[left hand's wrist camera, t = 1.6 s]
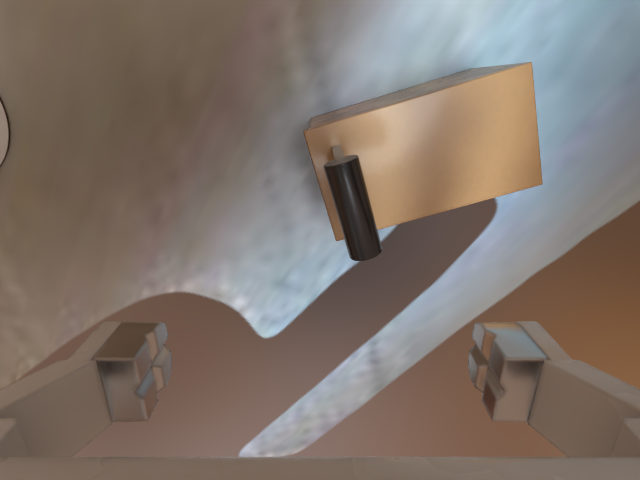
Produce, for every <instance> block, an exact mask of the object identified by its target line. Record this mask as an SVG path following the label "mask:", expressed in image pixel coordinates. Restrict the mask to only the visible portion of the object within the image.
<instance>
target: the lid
mask: <svg viewBox="0 0 640 480" xmlns="http://www.w3.org/2000/svg"><path fill="white" fill-rule="evenodd" d="M304 136H305V139H306V142H307V146H308V149H309V152H310V156H311V159H312V162H313V166H314V169H315V172H316V176H317V179H318V182H319V186H320V189H321V192H322V196H323V199H324V202H325V206H326V209H327V212H328V216H329V219H330V222H331V226H332V229H333V232H334V236H335V239H336V241H339V240H342V239H345V242H346V246H347V249H348V253H349V256H350V258H351V259H352V260H355V261H363V260H368V259H371V258H374V257H376V256H377V255H379V254H380V253H381V251H382V246H381V242H380V239H379V235H378V231H377V230H378V229H382V228H386V227H389V226H393V225H397V224H400V223H404V222H407V221H411V220H415V219H418V218H422V217H426V216H429V215H433V214H437V213H440V212H444V211H447V210H451V209H455V208H458V207H462V206H466V205H469V204H473V203H476V202H480V201H484V200H487V199H491V198H495V197H498V196H502V195H505V194H509V193H513V192H516V191H520V190H524V189H527V188H531V187H534V186H538V185H542V174H541V162H540V151H539V139H538V128H537V116H536V105H535V93H534V82H533V70H532V62H527V63H521V64H518V65H515V66H512V67H508V68H505V69H502V70H498V71H495V72H492V73H489V74H485V75H482V76H479V77H476V78H472V79H469V80H466V81H463V82H459V83H456V84H453V85H449V86H446V87H443V88H440V89H436V90H433V91H430V92H427V93H423V94H420V95H417V96H413V97H410V98H407V99H404V100H400V101H397V102H394V103H391V104H387V105H384V106H381V107H377V108H374V109H371V110H368V111H364V112H361V113H358V114H355V115H351V116H348V117H345V118H341V119H338V120H335V121H332V122H328V123H325V124H322V125H319V126H315V127H312V128H309V129H306V130H304Z"/></svg>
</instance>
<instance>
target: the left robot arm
mask: <svg viewBox="0 0 640 480" xmlns="http://www.w3.org/2000/svg"><path fill="white" fill-rule="evenodd" d="M8 141H9V131H8V123H7V118H6V114H5V111H4V108H3V106H2V103H1V101H0V165H1V163H2V161H3V160H4V157H5V155H6V152H7V148H8ZM167 338H168V334H167V329H166V325H165V324H164V323H162V322H104V323H101V324H100V325H99V327H98V328H97V329H96V330H95V331H94V332H93V333H92V334H91V335H90V336H89V337H88V338H87V340H86V341H85V342H84V343H83V344H82V345H81V346H80V347H79V348H78V349H77V350H76V351H75V352H74V354H73V355H72V356H71V357H70V358H69V359H68V360H60V361H58V362H56V363H54V364H52V365H50V366H48V367H46V368H44V369H42V370H39V371H37V372H35V373H33V374H31V375H29V376H27V377H25V378H23V379H21V380H19V381H16V382H14V383H12V384H10V385H8V386H6V387H4V388H2V389H0V480H640V389H638V388H636V387H634V386H632V385H630V384H628V383H625V382H623V381H621V380H619V379H617V378H615V377H613V376H611V375H609V374H607V373H605V372H603V371H600V370H598V369H596V368H594V367H592V366H590V365H588V364H586V363H584V362H582V361H580V360H572V359H571V358H570V357H569V356H568V355H567V354H566V352H565V351H564V350H563V349H562V348H561V347H560V346H559V345H558V344H557V343H556V342H555V340H554V339H553V338H552V337H551V336H550V335H549V334H548V333H547V332H546V331H545V330H544V329H543V327H542V326H541V325H540V324H539V323H537V322H534V321H529V322H503V323H476V324H475V326H474V328H473V333H472V338H473V339H474V341H475V343H476V345H475V346H474V347H473V348H472V349H471V350H470V351H469V358H468V366H469V374H470V377H471V380H472V383H473V384H474V387H475V388H477V389H478V390H479V391H481V392H482V393H483V395H482V402H483V404H484V406H485V408H486V410H487V412H488V414H489V416H490V418H491V420H492V421H498V422H528V424H529V425H530V426H531V427H532V428H533V429H535V430H536V431H537V432H538V433H539V434H541V435H542V436H543V437H544V438H546V439H547V440H548V441H549V442H550V443H552V444H553V445H554V446H555V447H557V448H558V449H559V450H560V451H561V452H563V453H564V454H565V455H566V456H568V457H73V456H74V455H75V454H76V453H77V452H79V451H80V450H81V449H82V448H84V447H85V446H86V445H87V444H88V443H90V442H91V441H92V440H93V439H94V438H96V437H97V436H98V435H99V434H101V433H102V432H103V431H104V430H106V429H107V428H108V427H109V426H110V425H112V422H140V421H148V420H149V418H150V416H151V414H152V412H153V410H154V408H155V406H156V404H157V402H158V395H157V393H158V392H159V391H160V390H162V389H163V388H165V387H166V384H167V382H168V380H169V377H170V373H171V368H172V357H171V351H170V350H169V349H168V348H167V347H166V346H165V345H164V343H165V341H166V339H167Z"/></svg>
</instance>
